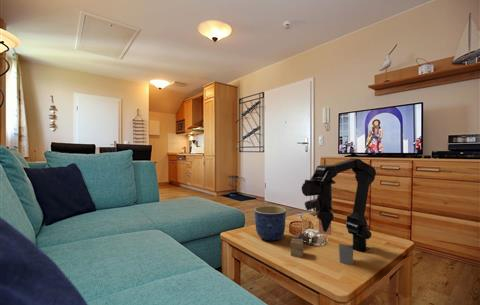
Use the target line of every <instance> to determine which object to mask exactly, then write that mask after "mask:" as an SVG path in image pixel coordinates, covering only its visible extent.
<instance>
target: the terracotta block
mask: <svg viewBox="0 0 480 305" xmlns="http://www.w3.org/2000/svg"><path fill="white" fill-rule="evenodd" d="M319 234H320V235H327V236H332V222H331V223H330V225H329V227H328V229H327V232H324V231H323V226H322V222H321V220H320V219H318V235H319Z"/></svg>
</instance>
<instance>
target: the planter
mask: <svg viewBox="0 0 480 305" xmlns="http://www.w3.org/2000/svg"><path fill="white" fill-rule="evenodd" d="M286 218H287V209H286V208H285V207H282V206H277V205H261V206H260V205H259V206H256V207H255V208H254V221H255V222H254V223H255V230H256V234H257V236H258V237H260V238H261V239H263V240H264V241H277V240H279V239H281V238H282V237H283V236H284V233H285V232H286V231H285V230H286Z"/></svg>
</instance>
